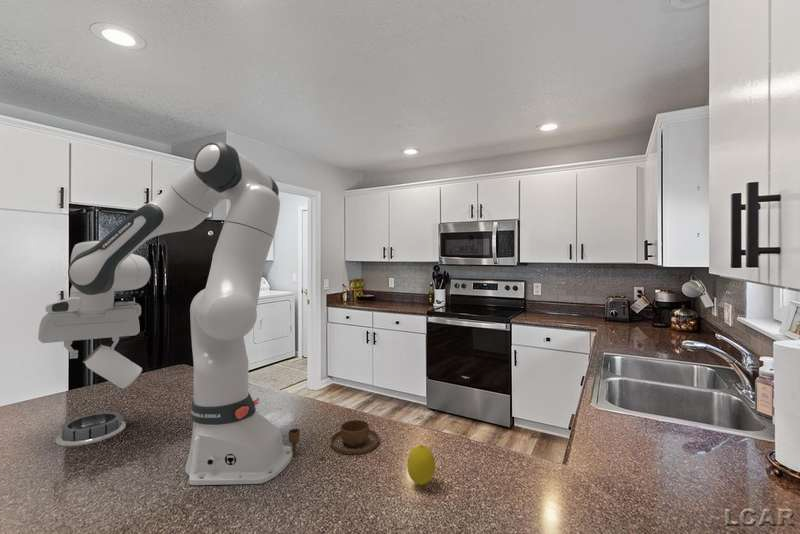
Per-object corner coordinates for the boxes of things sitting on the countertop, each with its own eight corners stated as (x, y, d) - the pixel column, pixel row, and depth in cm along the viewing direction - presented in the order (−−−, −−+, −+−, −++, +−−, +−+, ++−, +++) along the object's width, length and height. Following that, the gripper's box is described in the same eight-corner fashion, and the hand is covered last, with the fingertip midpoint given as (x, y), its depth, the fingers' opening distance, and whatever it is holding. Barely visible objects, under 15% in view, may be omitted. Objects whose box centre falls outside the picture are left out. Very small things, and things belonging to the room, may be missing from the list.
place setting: (370, 466, 82) (370, 439, 82) (284, 460, 84) (284, 434, 84) (384, 431, 99) (384, 409, 99) (312, 427, 102) (312, 405, 102)
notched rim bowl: (138, 424, 102) (138, 412, 102) (88, 448, 88) (88, 434, 88) (95, 420, 105) (95, 409, 105) (39, 444, 91) (39, 430, 91)
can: (131, 385, 98) (88, 358, 93) (119, 392, 100) (76, 367, 95) (147, 365, 103) (107, 339, 98) (135, 373, 106) (96, 348, 100)
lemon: (427, 497, 70) (427, 454, 70) (402, 487, 73) (402, 447, 73) (439, 482, 75) (439, 442, 75) (415, 474, 78) (416, 436, 78)
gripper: (141, 300, 105) (141, 348, 105) (42, 304, 93) (41, 359, 93) (141, 301, 100) (141, 352, 100) (36, 306, 88) (36, 364, 88)
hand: (92, 356), depth 97 cm, fingers open, 6 cm apart
